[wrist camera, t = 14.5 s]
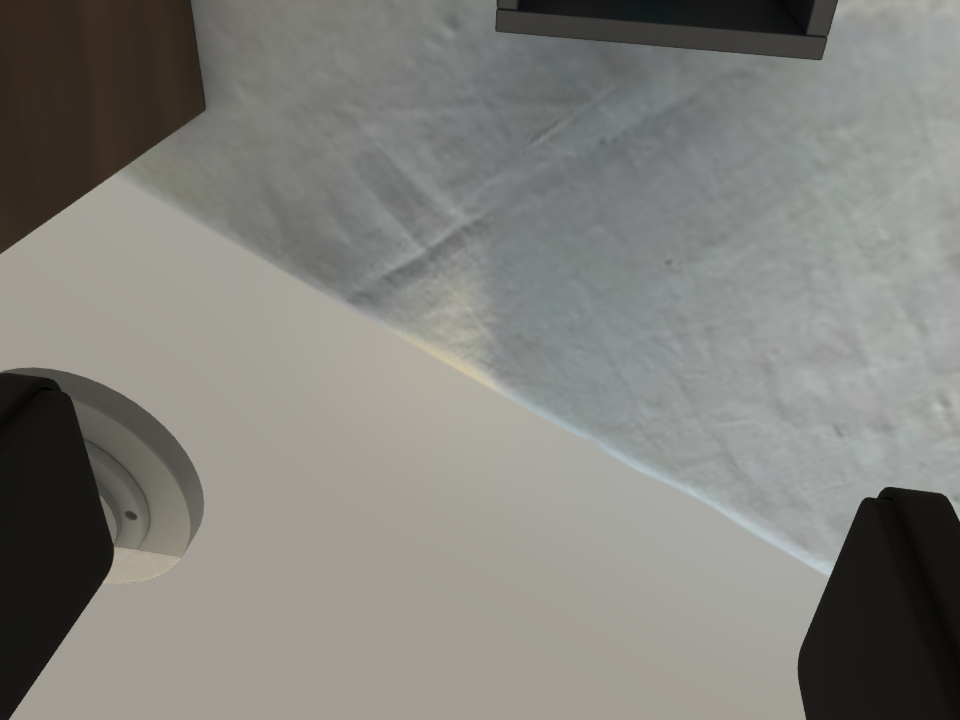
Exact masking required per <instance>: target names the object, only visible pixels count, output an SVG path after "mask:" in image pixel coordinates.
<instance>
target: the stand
mask: <svg viewBox="0 0 960 720" xmlns="http://www.w3.org/2000/svg"><path fill="white" fill-rule="evenodd" d="M204 111H205V105H204V98H203V91H202V84H201V77H200V69H199V62H198V55H197V48H196V41H195V34H194V27H193V20H192V13H191V6H190V0H0V254H1V253H2V252H4V251H5V250H7V249H8V248H9V247H11V246H12V245H14V244H15V243H17V242H18V241H19V240H21V239H22V238H24V237H25V236H27V235H28V234H30V233H31V232H32V231H34V230H35V229H37V228H38V227H39V226H41V225H42V224H44V223H45V222H47V221H48V220H49V219H51V218H52V217H54V216H55V215H57V214H58V213H60V212H61V211H62V210H64V209H65V208H67V207H68V206H70V205H71V204H72V203H74V202H75V201H77V200H78V199H80V198H81V197H82V196H84V195H85V194H87V193H88V192H90V191H91V190H92V189H94V188H95V187H97V186H98V185H99V184H101V183H102V182H104V181H105V180H106V179H108V178H110V177H111V176H112V175H114V174H115V173H117V172H118V171H119V170H121V169H122V168H124V167H125V166H127V165H128V164H129V163H131V162H132V161H134V160H135V159H137V158H138V157H139V156H141V155H142V154H144V153H145V152H147V151H148V150H149V149H151V148H152V147H154V146H155V145H157V144H158V143H159V142H161V141H162V140H164V139H165V138H167V137H168V136H169V135H171V134H172V133H174V132H175V131H177V130H178V129H179V128H181V127H182V126H184V125H185V124H187V123H188V122H189V121H191V120H192V119H194V118H195V117H197V116H198V115H199V114H201V113H202V112H204Z"/></svg>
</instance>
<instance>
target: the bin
mask: <svg viewBox="0 0 960 720" xmlns="http://www.w3.org/2000/svg"><path fill="white" fill-rule="evenodd" d="M837 2H838V0H497V8H498V9H497V11H496V27H495V30H496V32H504V33H516V34H527V35H539V36H550V37H561V38H573V39H584V40H595V41H607V42H618V43H629V44H641V45H652V46H663V47H675V48H686V49H697V50H709V51H720V52H731V53H743V54H754V55H765V56H777V57H788V58H799V59H811V60H822V57H823V54H824V50H825V47H826V43H827V37H826V36H828V35H829V31H830V28H831V24H832V20H833V17H834V13H835V10H836V6H837Z"/></svg>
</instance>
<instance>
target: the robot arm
mask: <svg viewBox="0 0 960 720" xmlns="http://www.w3.org/2000/svg"><path fill="white" fill-rule="evenodd" d="M149 523H150V515H149V510H148V505H147V503H146V500H145V498H144V495H143V493H142V491H141V490H140V488H139V487H138V485H137V483H136V482H135V480H134V479H133V478H132V476H131V475H130V474H129V473H128V472H127V471H126V470H125V469H124V467H123V466H122V465H121V464H119V463H118V462H117V461H116V460H115V459H114V458H112V457H111V456H110V455H109V454H108V453H106V452H105V451H103V450H102V449H100V448H99V447H97V446H96V445H94V444H93V443H91V442H89V441H87V440H85V439H83V437H82V434H81V430H80V427H79V423H78V420H77V416H76V413H75V409H74V406H73V402H72V400H71V398H70V396H69V395H68V394H67V393H64V392H62V391H61V389H60V387H59V385H58V384H57V383H56V382H55V381H54V380H52V379H49V378H43V377H36V376H28V375H20V374H12V373H2V374H0V720H9V718H10V717H11V715H12V714H13V712H14V711H15V710H16V708H17V707H18V705H19V704H20V702H21V701H22V699H23V698H24V697H25V695H26V693H27V692H28V690H29V689H30V688H31V686H32V685H33V683H34V682H35V680H36V679H37V677H38V676H39V675H40V673H41V672H42V670H43V669H44V667H45V666H46V664H47V663H48V662H49V660H50V659H51V657H52V656H53V654H54V653H55V651H56V650H57V648H58V647H59V645H60V644H61V643H62V641H63V640H64V638H65V637H66V635H67V634H68V632H69V631H70V629H71V628H72V626H73V625H74V623H75V622H76V621H77V619H78V618H79V616H80V615H81V613H82V612H83V610H84V609H85V608H86V606H87V605H88V603H89V602H90V600H91V599H92V597H93V596H94V594H95V593H96V592H97V590H98V588H99V587H100V586H101V584H102V583H103V581H104V580H105V578H106V577H107V575H108V573H109V572H110V569H111V566H112V564H116V563H119V562H121V561H123V560H125V559H127V558H129V557H130V556H131V555H132V554H134V553H135V552H136V551H137V550H138V548H139V547H140V545H141V544H142V542H143V541H144V539H145V538H146V535H147V532H148V530H149ZM798 680H799V685H800V690H801V696H802V701H803V706H804V711H805V716H806V720H960V521H959V519H958V517H957V515H956V513H955V511H954V509H953V507H952V505H951V503H950V501H949V500H948V498H947V497H946V496H944V495H943V494H941V493H933V492H926V491H918V490H910V489H902V488H895V487H886V488H884V489H883V490H882V491H881V492H880V494H879V496H878V497H877V498H870V497H868V498H865V499H864V500H863V501H862V502H861V504H860V506H859V508H858V511H857V513H856V515H855V518H854V520H853V523H852V525H851V528H850V530H849V532H848V535H847V537H846V540H845V542H844V545H843V547H842V549H841V552H840V554H839V557H838V559H837V561H836V564H835V566H834V569H833V571H832V574H831V576H830V578H829V581H828V583H827V586H826V588H825V591H824V593H823V595H822V598H821V600H820V603H819V605H818V607H817V610H816V612H815V615H814V617H813V620H812V622H811V624H810V627H809V629H808V632H807V634H806V637H805V639H804V642H803V644H802V646H801V650H800V653H799V659H798Z"/></svg>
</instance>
